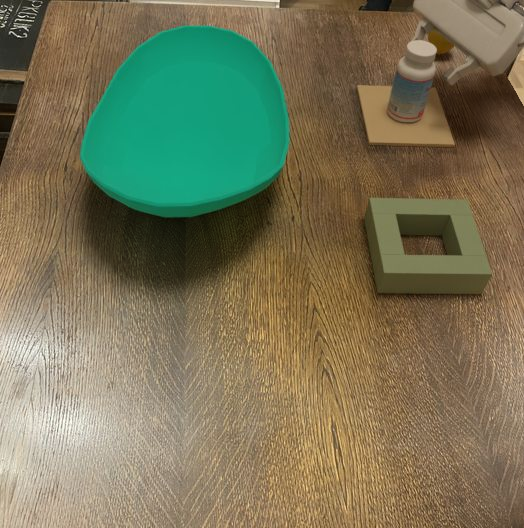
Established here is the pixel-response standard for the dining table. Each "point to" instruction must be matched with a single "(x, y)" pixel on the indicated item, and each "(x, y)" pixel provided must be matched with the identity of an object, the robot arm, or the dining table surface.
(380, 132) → the mat
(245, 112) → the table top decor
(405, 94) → the pill bottle
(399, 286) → the stand
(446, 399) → the dining table surface
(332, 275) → the dining table surface
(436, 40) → the lemon
